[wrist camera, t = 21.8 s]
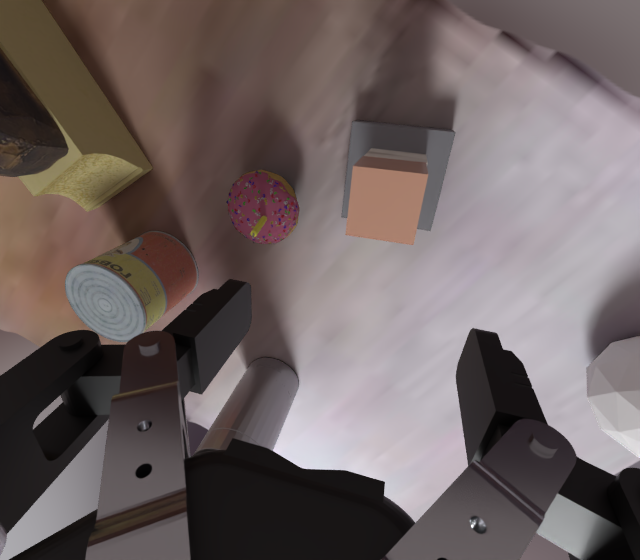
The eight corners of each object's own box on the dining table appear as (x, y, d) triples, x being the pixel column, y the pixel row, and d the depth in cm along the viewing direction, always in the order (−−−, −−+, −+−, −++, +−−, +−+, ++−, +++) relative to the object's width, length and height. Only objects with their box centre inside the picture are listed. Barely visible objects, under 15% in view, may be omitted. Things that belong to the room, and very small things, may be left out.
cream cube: (414, 208, 36) (414, 224, 32) (363, 200, 37) (356, 215, 33) (426, 154, 34) (427, 163, 29) (371, 148, 35) (364, 155, 30)
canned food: (173, 221, 48) (108, 253, 38) (211, 288, 52) (161, 334, 42) (120, 242, 53) (48, 276, 42) (158, 303, 57) (101, 348, 46)
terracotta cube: (413, 223, 32) (413, 245, 27) (355, 215, 33) (345, 234, 28) (426, 162, 29) (428, 174, 24) (362, 155, 30) (352, 166, 25)
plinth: (429, 222, 40) (430, 231, 37) (346, 209, 41) (341, 217, 39) (452, 129, 35) (455, 132, 32) (356, 120, 37) (352, 121, 34)
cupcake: (316, 177, 41) (282, 203, 30) (300, 240, 45) (266, 281, 35) (250, 155, 41) (195, 173, 31) (240, 218, 46) (190, 253, 35)
